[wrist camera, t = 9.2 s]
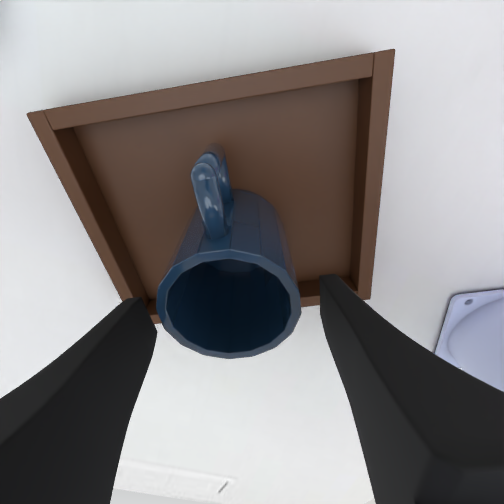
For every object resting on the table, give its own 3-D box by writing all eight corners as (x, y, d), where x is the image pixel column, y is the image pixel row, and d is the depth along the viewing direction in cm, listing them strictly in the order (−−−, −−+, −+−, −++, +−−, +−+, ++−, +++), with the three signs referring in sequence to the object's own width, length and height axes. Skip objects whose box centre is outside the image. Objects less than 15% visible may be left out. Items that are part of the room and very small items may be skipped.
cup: (286, 267, 18) (304, 351, 12) (201, 278, 18) (179, 364, 12) (273, 128, 13) (290, 158, 8) (161, 146, 14) (101, 187, 8)
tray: (374, 53, 12) (396, 48, 10) (358, 279, 19) (370, 299, 17) (54, 109, 13) (24, 113, 11) (145, 304, 20) (134, 326, 18)
